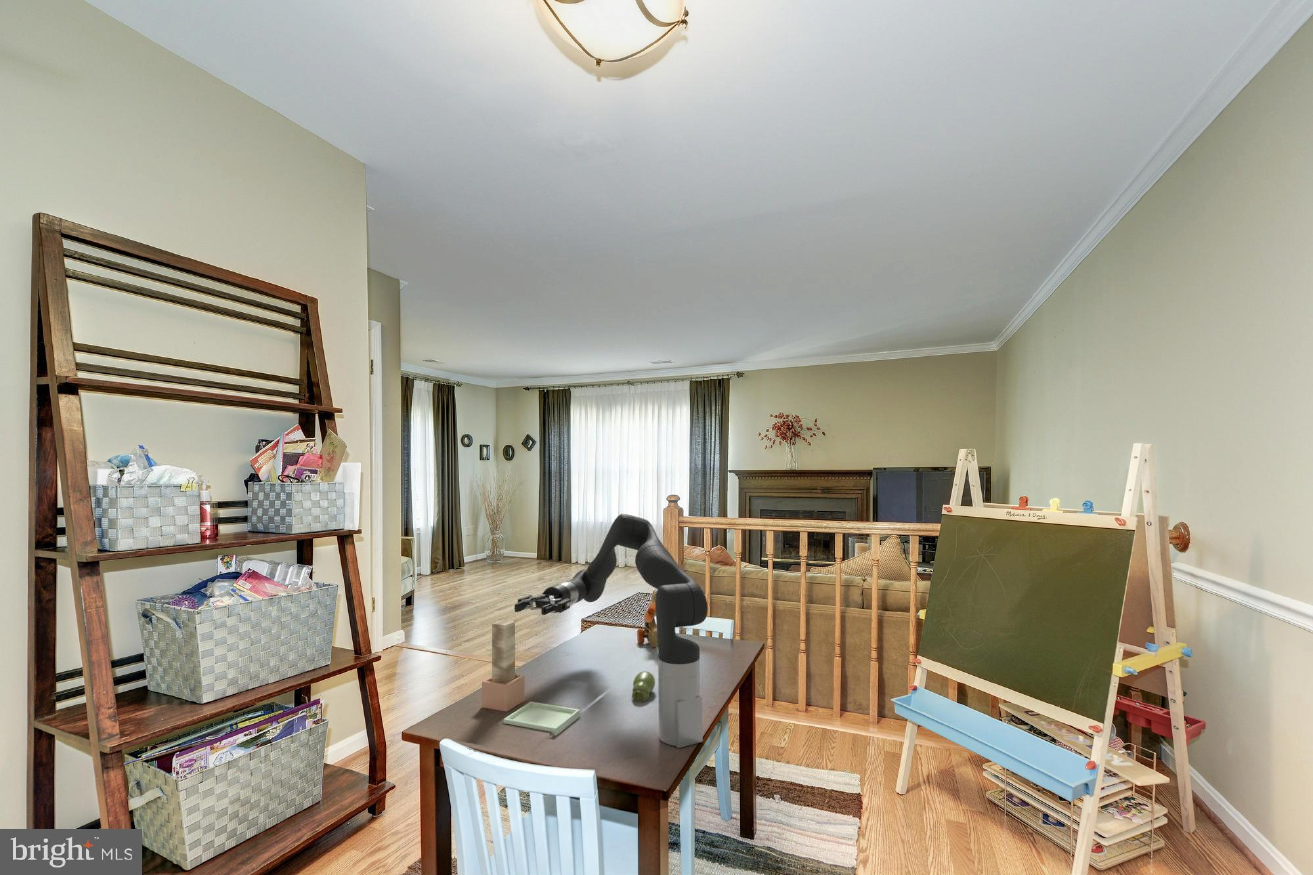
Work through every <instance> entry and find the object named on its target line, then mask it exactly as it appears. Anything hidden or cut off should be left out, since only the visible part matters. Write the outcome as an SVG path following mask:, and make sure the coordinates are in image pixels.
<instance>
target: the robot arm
mask: <svg viewBox="0 0 1313 875" xmlns="http://www.w3.org/2000/svg"><path fill="white" fill-rule="evenodd" d="M617 546H620V547H623V548H626V549H627V548H628V549H631V550H636V551H637V552H636V553H635V558H634V559H635V560H634V563H635V564H634V565H635V568H636V569H637V571H638V573H639V575H640V576H641V578H642V579H643V580H644V582H645V583H647V584H648V585H649V586H651V587H653V588H655V589H657V590H656V593H655V600H654V602H655V607H656V616H655V622H656V626H657V644H658V646H657V653H658V654H657V656H658V658H657V659H658V660H657V664H658V666H657V668H658V673H657V674H658V676H657V677H658V680H657V683H658V738H659V740H660V741H661V742H662V743H664V744H666V745H670V746H674V747H676V748H677V749H680V748H684V747H688V746H691V745H695V744H699V743H703V737H704V736H703V698H702V697H701V658H700V657H701V654H700V653H701V652H700V651H701V650H700V646H699V644H698V643H697V642H695V641H693V640H691V639H687V638H683V637H681V636H679V635H677V633H676V628H682V627H683V628H684V627H693V626H696V625H700V624H702V623H703V622H705V620H706V619H707V617H708V613H709V612H708V611H709V606H708V601H707V597H706V595H705V592H704V590H703V589H702V588H701V586H700V585H699V584H698V583H697V582H696V581H695V580H694V579H693V578H692V577H690V575H689V574H688V573H686V572H685V571H684V569H683V568H682V567H681V566H680V565H679V563H678V562H676V560H675V559H674V557H673V555H672V554H671V553H670V551H669V550H668V549H667V548H666V547H665V546H664V545H663V543H662V541H661V539H659V536H658V535H657V533H656V531H655V529H654V527H653V525H652V524H651V522H650V521H649V520H647V519H645V518H642V517H638V516H636V515H631V514H627V513H620V514H619V515H617V517H616V518H614V520H613V522H612V524H611V526H610V528H609V530H608V532H607V534H606V536H605V539H604V540H603V542H602V544H601V546H600V548H599V551H598V553H596V556H595V557H594V558H593V560H592V561H591V563H589V564H588V566H587V569H586V568H583V569H581V570H579V571H578V572H577V573H575V575H574V576H573V577H572V578H571V579H570V580H567V581H563V582H560V583H556V584H554V585H552V586H549V587H547V588H545V589H544V591H543V592H542V594H539V595H537V596H536V595H535V596H533V594H528V595H526V596H523V597H520V598H517V603H515V604H514V612H515V613H519V612H522V611H524V610H531V611H537V610H541V615H542V616H546V615H548V614H550V613H551V614H557V613H559V614H560V613H563V612H566V611H567V610H569V609H571V607H572V606H573V605H575V604H577V603H579V602H582V601H583V600H584V601H585V602H587V603H594V602H596V601H598V599H600V598H601V597H602V595H603V593H604V591H605V587H606V584H607V581H608V578H610V576H611V575H612V574H613V573H614V571H615V569H616V568H617V560H618V559H617V554H616V550H615V547H617ZM534 604H535V606H534Z"/></svg>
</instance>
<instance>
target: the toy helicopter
mask: <svg viewBox="0 0 1313 875" xmlns="http://www.w3.org/2000/svg"><path fill="white" fill-rule="evenodd" d="M643 620H644V629H643V628H638V629H637V631H636V637H637V643H638V645H639V644H640V645H643V644H644V643H645V640H646V639H647V642H648V644H649V646H650V648H652V649H653V648H654V647H655V648H658V644H657V622H656V607H655V601H651V602H649V605H648V608H647V609H646V611H645V613H644V618H643ZM655 648H654V649H655Z"/></svg>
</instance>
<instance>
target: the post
mask: <svg viewBox="0 0 1313 875" xmlns="http://www.w3.org/2000/svg"><path fill="white" fill-rule="evenodd" d="M515 674H516V620H515V621H514V620H507V619H506V620H505V619H501V620H498V621H496V622H493V623H492V624H491V677H492V682H496V683H503V684H507V683H509V682H511V681H512V680H514V679H515Z"/></svg>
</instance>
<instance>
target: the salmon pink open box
mask: <svg viewBox="0 0 1313 875" xmlns="http://www.w3.org/2000/svg"><path fill="white" fill-rule="evenodd" d="M525 680H526V678H525V674H520V673H519V674H518V673H517V674H516V673H515V679H514V680H512V681H511V682H509V683H507V684H503V683H496V682H492V676H489V677H488V678H486V679H484V680H482V681H481V708H483V709H488V710H495V711H502V712H509V711H510V710H512V709H513V708H515V707H517V706H518V705H520V704H522V703H523V702H525V700H526V698H525V697H526V696H525V689H526V688H525V686H526V685H525V683H526V682H525Z"/></svg>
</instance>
